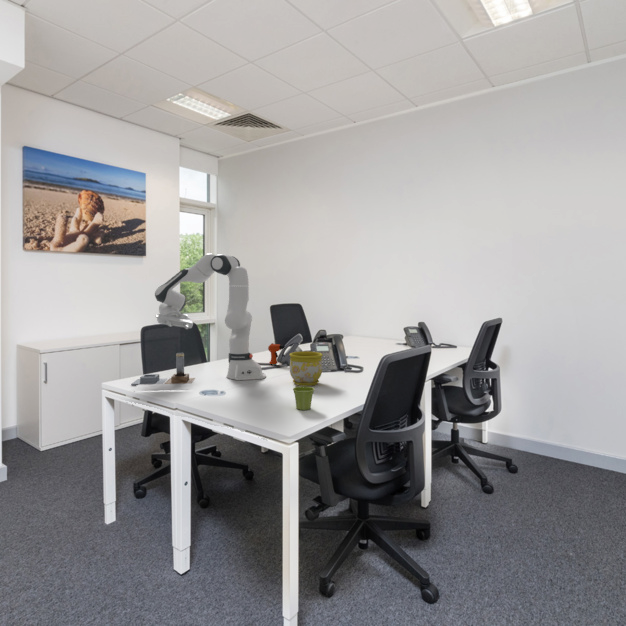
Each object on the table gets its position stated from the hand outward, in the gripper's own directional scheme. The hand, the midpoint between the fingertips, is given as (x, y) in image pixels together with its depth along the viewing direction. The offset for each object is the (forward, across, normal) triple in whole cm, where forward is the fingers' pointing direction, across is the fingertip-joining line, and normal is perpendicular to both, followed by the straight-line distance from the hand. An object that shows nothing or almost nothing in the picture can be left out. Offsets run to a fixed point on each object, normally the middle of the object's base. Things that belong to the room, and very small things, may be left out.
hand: (179, 326), depth 243 cm
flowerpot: (+56, +55, +1) cm, 78 cm away
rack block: (+12, -11, +30) cm, 34 cm away
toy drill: (+5, +73, +15) cm, 75 cm away
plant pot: (+94, +25, -6) cm, 97 cm away
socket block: (+19, +2, +25) cm, 31 cm away
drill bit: (+19, +2, +24) cm, 30 cm away
